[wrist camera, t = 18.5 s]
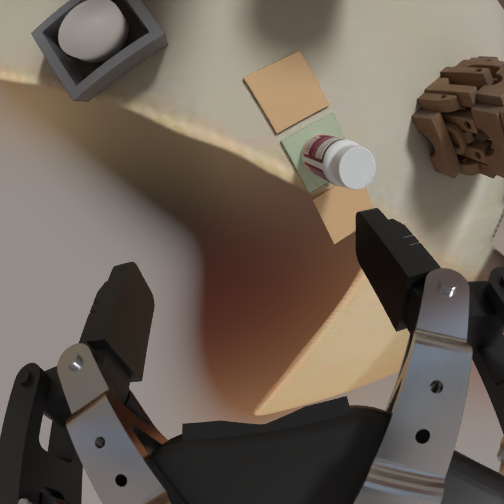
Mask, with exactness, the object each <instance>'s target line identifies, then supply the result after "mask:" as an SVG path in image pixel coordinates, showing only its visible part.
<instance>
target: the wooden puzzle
mask: <svg viewBox="0 0 504 504" xmlns="http://www.w3.org/2000/svg"><path fill="white" fill-rule="evenodd" d="M440 73H441V75H442V77H443V78H438V79H437V80H436V81H434V82H433V83H432V84H431V85H429V86H428V87H427V88H426V89H425V93H424V94H422V95H421V96H420V97H419V98H417V100H418V102H419V104H420V106H421V108H422V110H421V109H419V110H418V111H417V112H416V113H415V114H413V115H412V116H411V117H412V119H413V121H414V123H415V125H416V127H417V129H418V132H420V133H422V134H423V135H425V136H426V137H427V138H428V139H429V140H430V141H431V143H432V144H433V146H434V149H435V152H434V153H433V154H432V155H431V156H430V159H431V162H432V164H433V167H434V169H435V171H437V172H439V173H442V174H445V175H447V176H450V177H452V178H455V177H456V176H457V175H458V174H459V173H462V174H465V175H475V174H478V173H481V174H483V175H486V176H488V177H491V178H494V177H495V176H496V175H498V176H501V177H503V178H504V62H502V61H499V60H498V58H497V57H482V56H479V57H478V58H471V59H470V60H463V61H462V62H460V63H459V64H458V65H457V66H455V67H446V68H444V69H443V70H442V71H441V72H440ZM451 84H455V85H451ZM489 138H490V139H491V140H488V139H489Z"/></svg>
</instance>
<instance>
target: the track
mask: <svg viewBox="0 0 504 504" xmlns="http://www.w3.org/2000/svg"><path fill="white" fill-rule="evenodd" d="M244 80H245V82H246V83H247V85H248V86H249V88H250V90H251V91H252V93H253V94H254V96H255V98H256V99H257V101H258V103H259V104H260V106H261V108H262V109H263V111H264V113H265V114H266V116H267V118H268V120H269V121H270V123H271V125H272V126H273V128H274V130H275V132H276V133H279V132H280V131H282V130H284V129H286V128H288V127H289V126H291V125H293V124H295V123H297V122H298V121H300V120H302V119H304V118H306V117H308V116H309V115H311V114H313V113H315V112H317V111H319V110H321V109H323V108H325V107H327V106H329V103H328V101H327V99H326V97H325V95H324V93H323V91H322V89H321V88H320V86H319V84H318V82H317V80H316V78H315V76H314V75H313V73H312V71H311V69H310V67H309V66H308V64H307V62H306V60H305V59H304V57H303V55H302V54H301V52H300V51H299V52H297V53H295V54H292V55H290V56H288V57H286V58H284V59H281V60H279V61H277V62H275V63H273V64H271V65H269V66H267V67H265V68H263V69H261V70H259V71H257V72H255V73H253V74H251V75H249V76H247V77H245V78H244ZM319 134H323V135H329V136H334V137H338V138H343V139H345V137H344V134H343V132H342V130H341V128H340V126H339V124H338V121H337V119H336V117H335V115H334V113H330V114H329V115H327V116H325V117H323V118H321V119H319V120H317V121H315V122H314V123H312V124H310V125H308V126H306V127H305V128H303V129H301V130H299V131H297V132H296V133H294V134H292V135H290V136H289V137H287V138H285V139H283V140H282V141H281V142H282V144H283V146H284V148H285V149H286V151H287V153H288V155H289V157H290V159H291V160H292V162H293V164H294V166H295V168H296V170H297V172H298V173H299V175H300V177H301V179H302V181H303V183H304V185H305V187H306V189H307V191H308V193H311V192H312V191H314V190H316V189H317V188H319V187H321V186H322V185H324V184H325V183H327V182H328V181H327V180H325V179H323V178H321V177H319V176H317V175H315V174H313V173H312V172H310V171H309V170H308V169H307V168H306V167H305V165H304V164H303V161H302V149H303V146H304V144H305V143H306V141H307V140H308V139H310V138H311V137H313V136H315V135H319ZM312 200H313V202H314V204H315V206H316V208H317V210H318V212H319V214H320V217H321V219H322V220H323V222H324V225H325V227H326V229H327V231H328V233H329V235H330V237H331V239H332V241H333V243H334V244H336V243H337V242H339V241H340V240H342V239H343V238H345V237H346V236H348V235H349V234H351V233H352V232H354V231H355V230H356V213H357V212H359V211H363V210H368V209H373V206H372V203H371V200H370V197H369V195H368V192H367V189H366V187H365V188H363V189H359V190H352V189H349V188H347V187H339V186H336V185H335V186H333V187H331V188H330V189H328V190H327V191H325V192H323V193H322V194H320V195H318V196H317V197H315V198H314V199H312Z"/></svg>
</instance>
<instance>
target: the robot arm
mask: <svg viewBox="0 0 504 504" xmlns="http://www.w3.org/2000/svg"><path fill="white" fill-rule="evenodd" d="M356 255H357V259H358V262H359V264H360V266H361V268H362V269H363V271H364V273H365V275H366V276H367V278H368V280H369V282H370V284H371V285H372V287H373V289H374V291H375V293H376V294H377V296H378V298H379V300H380V302H381V304H382V305H383V307H384V309H385V311H386V313H387V315H388V317H389V319H390V321H391V323H392V325H393V326H394V328H395V330H396V332H397V331H400V330H403V329H406V328H407V329H408V331H409V333H410V336H409V339H408V343H407V347H406V350H405V354H404V358H403V361H402V364H401V368H400V371H399V374H398V377H397V380H396V383H395V386H394V389H393V392H392V394H391V397H390V399H389V402H388V404H387V407H386V410H385V411H384V410H381V409H378V408H375V407H368V406H359V405H354V406H353V405H351V406H349V403H348V399H347V397H346V396H345V397H341V398H338V399H334V400H330V401H326V402H322V403H318V404H314V405H310V406H306V407H303V408H301V409H299V410H297V411H295V412H293V413H291V414H288V415H286V416H284V417H281V418H279V419H277V420H274V421H272V422H270V423H267V424H260V425H259V424H246V423H237V422H228V421H212V422H202V423H187V424H183V428H182V434H181V435H178V436H176V437H174V438H172V439H170V440H167V439H166V438H165V437H164V436H163V435H162V434H161V433H160V432H159V431H158V430H157V428H156V427H155V426H154V424H153V423H152V421H151V420H150V419H149V417H148V416H147V414H146V413H145V411H144V410H143V408H142V407H141V405H140V404H139V402H138V401H137V399H136V398H135V396H134V395H133V393H132V392H131V391H130V390H129V385H130V382H138V381H142V377H143V371H144V364H145V357H146V351H147V345H148V339H149V334H150V327H151V322H152V317H153V312H154V299H153V295H152V292H151V290H150V288H149V287H148V285H147V283H146V282H145V279H144V278H143V276H142V274H141V272H140V270H139V268H138V267H137V265H136V264H135V263H134V262H129V263H125V264H121V265H117V266H114V267H113V269H112V272H111V274H110V277H109V279H108V281H107V282H105V283H104V285H103V286H102V287H101V288H100V290H99V291H98V292H97V295H96V297H95V300H94V305H92V308H91V310H90V314H89V316H88V318H87V321H86V324H85V327H84V329H83V333H82V335H81V338H80V341H79V344H75V345H72V346H70V347H69V348H68V349H66V350H65V351H64V352H63V354H62V355H61V357H60V359H59V361H58V364H57V366H56V367H54V368H51V369H49V370H46V371H43V370H42V369H41V368H40V367H39V366H38V365H37V364H35V363H29V364H27V365H26V366H24V367H23V368H22V369H21V370H20V371H19V373H18V374H17V376H16V379H15V382H14V385H13V389H12V392H11V395H10V399H9V402H8V406H7V410H6V414H5V418H4V423H3V427H2V432H1V437H0V504H81V496H82V495H81V494H82V470H83V469H82V468H83V467H84V469H85V471H86V473H87V475H88V477H89V479H90V481H91V483H92V485H93V487H94V489H95V491H96V492H97V494H98V496H99V498H100V500H101V501H102V503H103V504H504V436H503V437H502V440H501V444H500V449H499V451H498V454H497V457H498V460H499V461H500V462H501V465H500V470H499V472H496V471H494V470H492V469H490V468H488V467H486V466H484V465H482V464H480V463H478V462H476V461H474V460H472V459H470V458H469V457H467V456H465V455H463V454H461V453H459V452H457V451H455V450H454V448H455V445H456V441H457V437H458V434H459V429H460V425H461V421H462V416H463V412H464V407H465V402H466V397H467V391H468V385H469V378H470V371H471V363H472V359H473V361H474V363H475V366H476V368H477V370H478V372H479V374H480V376H481V379H482V381H483V383H484V385H485V387H486V390H487V392H488V394H489V397H490V399H491V402H492V404H493V407H494V409H495V411H496V415H497V417H498V420H499V423H500V425H501V428H502V431H503V434H504V335H503V333H504V267H497V268H495V269H493V270H492V271H491V273H490V275H489V278H488V281H477V282H467V280H466V279H465V278H464V277H463V276H462V275H461V274H460V273H458V272H456V271H454V270H451V269H447V268H441V267H440V266H439V265H438V263H437V262H436V261H435V260H434V259H433V257H432V256H431V255H430V254H429V253H428V251H427V250H426V249H425V248H424V247H423V245H422V244H421V243H419V241H418V240H417V239H416V237H415V236H413V235H412V233H411V232H410V231H409V229H408V228H407V227H406V226H405V225H403V224H402V223H400V222H398V221H396V220H394V219H389V220H388V219H387V218H386V217H385V215H384V214H383V213H382V212H381V211H380V210H379V209H378V208H373V209H368V210H363V211H359V212H357V213H356ZM43 414H44V415H45V416H46V417H48V418H49V419H51V420H52V427H51V433H50V440H49V447H48V452H47V451H45V450H44V449H43V448H42V447H41V445H40V443H39V433H40V427H41V422H42V416H43Z"/></svg>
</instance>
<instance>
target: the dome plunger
mask: <svg viewBox="0 0 504 504" xmlns="http://www.w3.org/2000/svg"><path fill="white" fill-rule="evenodd" d="M128 32H129V26H128V22H127V20H126V18H125V17H124V16H123V14H122V13H121V11H120V10H119V8H118V7H117V5H116V4H115V3H113V2H112V1H110V0H87V1H85V2H82V3H81V4H79V5H77V6H76V7H75V8H73V9H72V10H71V11H70V12H69V13H68V14H67V16H66V17H65V18H64V20H63V22H62V23H61V26H60V29H59V33H58V41H59V45H60V47H61V49H62V50H63V51H64V52H65V53H67V54H68V55H71V56H73V57H75V58H78V59H80V60H82V61H85V62H88V63H98V62H102V61H105V60H107V59H109V58H111V57H112V56H114V55H115V54H116V53H117V52H118V51H119V50H120V49H121V48H122V47H123V45H124V44H125V42H126V40H127V37H128Z"/></svg>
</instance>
